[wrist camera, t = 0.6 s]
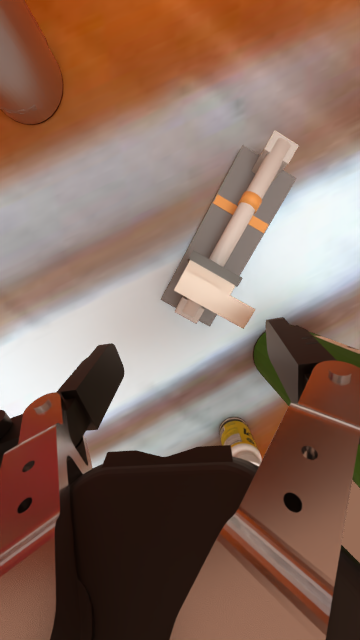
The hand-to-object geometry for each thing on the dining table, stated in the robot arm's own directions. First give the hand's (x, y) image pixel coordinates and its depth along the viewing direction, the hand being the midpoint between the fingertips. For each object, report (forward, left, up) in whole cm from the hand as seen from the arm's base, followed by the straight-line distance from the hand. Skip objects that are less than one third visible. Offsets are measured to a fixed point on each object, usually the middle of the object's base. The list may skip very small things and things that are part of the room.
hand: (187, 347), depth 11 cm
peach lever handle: (-4, +2, -18) cm, 19 cm away
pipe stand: (-9, +5, -20) cm, 23 cm away
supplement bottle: (+20, +7, -20) cm, 30 cm away
